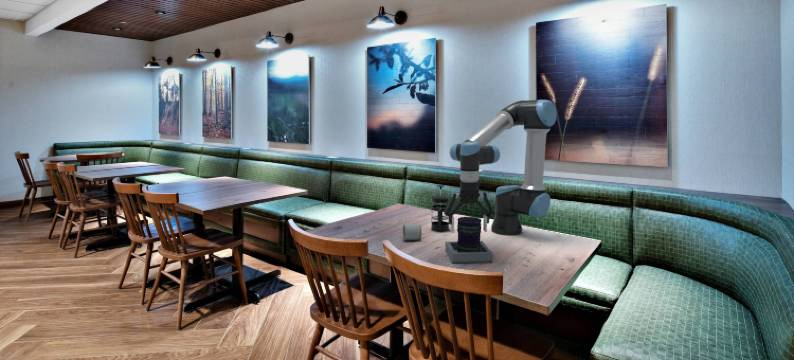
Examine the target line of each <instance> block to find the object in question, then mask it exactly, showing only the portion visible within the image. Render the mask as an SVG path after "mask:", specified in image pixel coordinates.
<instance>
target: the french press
mask: <svg viewBox="0 0 794 360" xmlns="http://www.w3.org/2000/svg"><path fill="white" fill-rule="evenodd" d="M436 187H438V188H439V195H433V196H431V198H432V202H433V203H437V204H433V205H432V206H431V211H435V212H437V214H436V215H432V216H431V220H434V221H431V227H430V230H431V231H433V232H437V233H444V232H448V231H450V225H449V217H448V216H445V215H443V214H444V213H443V212H445V210H446V208H447V206H448V203H449V202H450V200H449V199H450V196H447V195H442V189H443V188H445V187H446V186H445V185H443V184H438V185H436ZM446 203H447V204H446ZM447 220H448V221H447Z"/></svg>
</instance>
